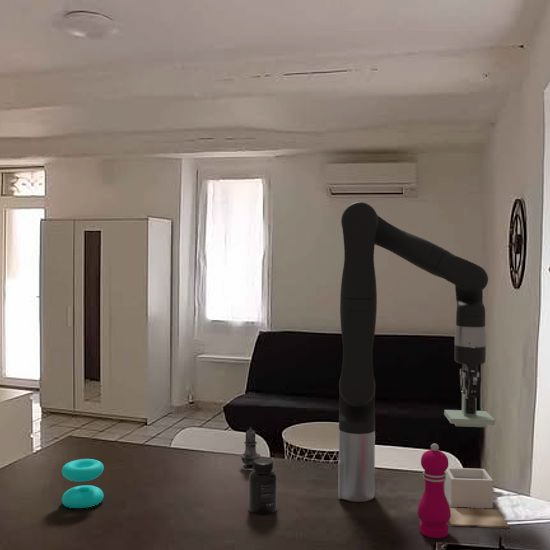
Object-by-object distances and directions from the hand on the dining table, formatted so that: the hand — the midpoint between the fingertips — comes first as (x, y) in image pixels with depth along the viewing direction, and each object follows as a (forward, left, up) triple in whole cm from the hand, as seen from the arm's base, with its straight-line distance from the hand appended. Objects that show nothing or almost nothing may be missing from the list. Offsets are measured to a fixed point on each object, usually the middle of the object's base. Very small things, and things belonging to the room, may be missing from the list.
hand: (468, 411), depth 164 cm
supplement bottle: (-51, -11, -23) cm, 57 cm away
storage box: (0, 0, -23) cm, 23 cm away
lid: (0, 0, -3) cm, 3 cm away
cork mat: (0, -11, -23) cm, 25 cm away
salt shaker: (-58, +21, -23) cm, 66 cm away
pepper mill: (-12, -20, -23) cm, 33 cm away
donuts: (-96, -11, -23) cm, 99 cm away
